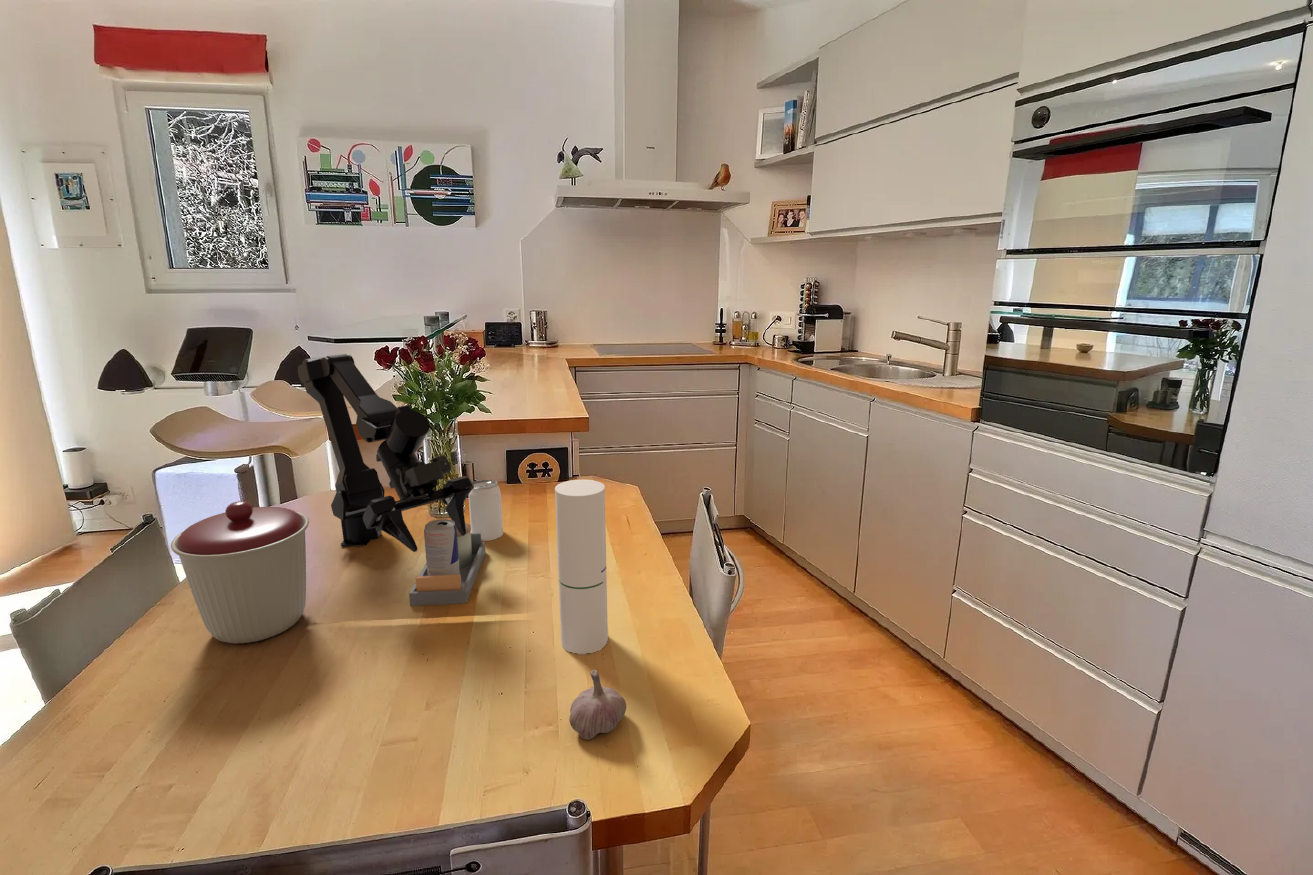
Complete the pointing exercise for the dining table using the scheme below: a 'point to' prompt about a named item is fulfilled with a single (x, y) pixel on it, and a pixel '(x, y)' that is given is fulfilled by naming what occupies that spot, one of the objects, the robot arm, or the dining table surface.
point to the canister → (246, 570)
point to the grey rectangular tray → (467, 580)
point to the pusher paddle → (438, 583)
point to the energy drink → (441, 548)
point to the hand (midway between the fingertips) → (440, 542)
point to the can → (486, 509)
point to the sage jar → (465, 547)
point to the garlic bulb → (596, 710)
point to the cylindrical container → (582, 565)
